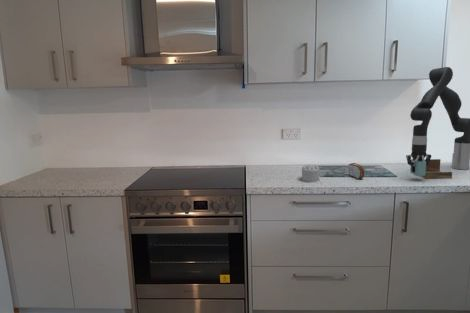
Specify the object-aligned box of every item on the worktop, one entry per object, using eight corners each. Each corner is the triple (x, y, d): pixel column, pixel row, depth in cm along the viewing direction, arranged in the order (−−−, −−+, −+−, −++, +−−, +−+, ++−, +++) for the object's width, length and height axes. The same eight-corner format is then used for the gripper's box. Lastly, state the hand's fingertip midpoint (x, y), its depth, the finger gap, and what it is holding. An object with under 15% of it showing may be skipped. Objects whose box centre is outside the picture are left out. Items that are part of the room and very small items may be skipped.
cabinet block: (410, 172, 198) (410, 159, 197) (417, 172, 198) (418, 159, 197) (417, 175, 190) (418, 162, 189) (425, 175, 190) (426, 161, 189)
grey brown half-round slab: (364, 180, 199) (365, 166, 197) (359, 180, 198) (360, 166, 197) (351, 174, 213) (352, 161, 212) (347, 174, 213) (347, 162, 211)
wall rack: (414, 173, 209) (415, 159, 208) (438, 173, 209) (439, 159, 208) (426, 179, 196) (427, 164, 195) (451, 178, 196) (453, 163, 195)
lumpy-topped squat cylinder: (318, 177, 209) (318, 163, 207) (320, 182, 196) (320, 168, 195) (301, 177, 210) (301, 163, 209) (302, 182, 198) (302, 168, 196)
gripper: (428, 141, 195) (426, 170, 198) (403, 142, 195) (402, 171, 198) (435, 143, 187) (433, 173, 190) (410, 144, 187) (408, 174, 190)
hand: (417, 171), depth 194 cm, fingers closed on cabinet block, 4 cm apart
